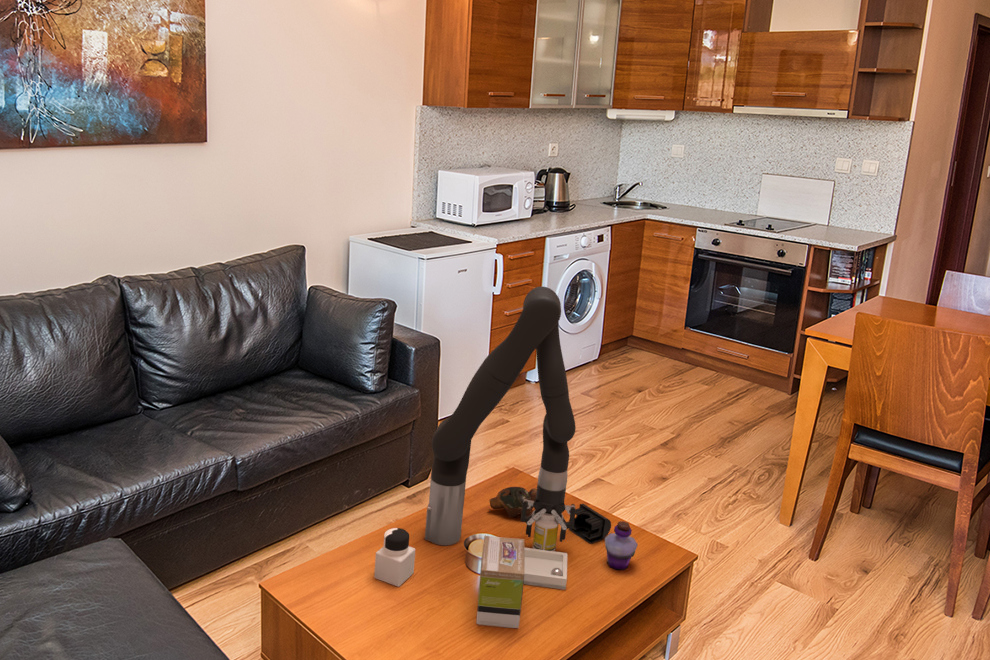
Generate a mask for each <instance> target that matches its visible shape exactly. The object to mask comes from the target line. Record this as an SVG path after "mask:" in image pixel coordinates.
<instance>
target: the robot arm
mask: <svg viewBox="0 0 990 660" xmlns="http://www.w3.org/2000/svg"><path fill="white" fill-rule="evenodd" d="M561 316H562V306H561V300H560V298H559V295H558V294H557V293H556V292H555V291H554V290H553V289H551V288H549V287H547V286H536V287H535V288H532V289H531V290H529V291H528V293H527V294H526V296H525V297H524V300H523V305H522V311H521V313H520V315H519V318H518V319H517V321H516V322H515V324H514V326H513V328H512V329H511V331H509V334H508V335H507V336H506V337H505V339H504V340H502V342H500V343H499V344H498V345H497V346H496V347H495V348H494V349H493V350H492V351H490V352H489V354H488V355H487V356H486V358H485V359H484V360H483V361H482V363H481V364H480V366H479V367H478V368H477V370H476V372H475V373H474V375H473V377H472V378H471V380H470V382H469V383H468V385H467V387H466V388H465V389H466V390H465V391H464V393H463V395H462V398H461V399H460V401H459V403H458V405H457V407H456V409H455V410H454V412H453V413H452V414H451V415H450V416H449V417H448V418H445V419H443V420H442V421H441V422H440V423H439V425H438V426H437V428H436V430H435V432H434V433H433V436H432V439H431V448H432V452H433V455H434V457H433V461H432V466H431V470H430V471H431V472H430V474H431V475H430V484H429V496H428V498H429V499H428V504H427V508H426V517H425V531H424V541H429V542H431V543H433V544H435V545H439V546H451V545H454V544H456V543H458V542H460V540H461V537H462V536H461V535H462V528H463V527H462V525H463V517H464V516H463V515H464V506H465V505H464V504H465V495H466V493H465V492H466V483H467V473H468V469H469V466H470V465H469V464H470V455H471V446H472V439H473V438H474V436H475V434H476V433H477V432H478V429H479V427H480V426H481V425H482V423H483V422H484V421H485V420H486V418H487V417H489V416H490V414H491V413H492V412H493V411H494V409H495V408H496V407H497V406H498V404H500V402H501V401H502V400H503V399H504V397H506V396H505V395H506V394H507V393H508V392H509V390H510V389H511V388H512V386H513V385H514V383H516V380H517V379H518V377H519V376H520V374H521V373H522V371H523V369H524V368H525V366H526V364H527V363H528V361H529V359H530V358H531V356H532V355H533V353H534V352H535V353H536V366H537V377H538V379H537V380H538V385H539V390H540V391H539V392H540V396H541V401H542V404H543V406H544V409H545V414H544V418H543V423H542V445H543V446H542V453H541V461H540V467H539V471H538V477H537V485H536V489H537V492H536V499H535V500H534V501H531V500H528V498H524V501H523V507H522V513H521V515H520V522H521V523H525V524H526V528H525V535H526V536H527V538H531V536H532V528H533V523H535V521H536V520H537V519H538V518H539V517H541V516H542V514H544V513H548V514H553V516H554V517H555V519H556V520H557V522H558V525H560V532H559V542H563V541H565V540H566V535H567V530H569V528H571V529H573V528H574V520H575V517H576V515H575V509H576V505H575V503H571V504H569V505H567V504H565V498H566V490H567V486H568V485H567V484H568V470H569V469H568V468H569V461H570V460H569V459H570V450H569V446H568V442H570V441H571V440H572V439H573V438H574V436H575V434H576V420H575V416H574V412H573V407H572V404H571V402H570V393H569V392H570V391H569V385H568V378H567V372H566V366H565V362H564V357H563V353H562V347H561V346H562V345H561V339H560V330H559V326H560V325H559V324H560V323H559V322H560V319H561ZM531 506H533V507H534V508H533V509H534V510H532V512H531V514H530V516H529V517H528V516H526V512H527V509H529V508H530V507H531ZM565 511H566V512H567V514H568V515H569V520H570V521H569V520H568V521H566V519H565V517H564V512H565Z"/></svg>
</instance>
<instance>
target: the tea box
mask: <svg viewBox="0 0 990 660" xmlns="http://www.w3.org/2000/svg"><path fill="white" fill-rule="evenodd" d="M483 539H484V540H483V547H482V555H481V564H480V571H479V572H480V573H479V574H480V575H479V584H478V596H477V607H476V608H477V611H476V622H475V623H476V624H477V625H478V626H479V625H480V626H488V627H489V626H490V627H496V628H497V627H499V628H508V629H509V628H510V629H519V628H520V627H519V626H520V620H521V619H520V618H521V611H522V603H523V602H522V601H523V592H524V585H525V584H524V548H525V539H524V538H514V537H513V538H512V537H505V536H504V537H501V536H491V535H490V536H489V535H484V538H483Z"/></svg>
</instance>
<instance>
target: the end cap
mask: <svg viewBox="0 0 990 660" xmlns="http://www.w3.org/2000/svg"><path fill="white" fill-rule="evenodd" d="M569 521H570V519H568V522H569ZM611 528H612V522H611V520H610V519H609V518H607V517H606V516H604V515H603V514H601V513H600V512H597V511H596V510H595V509H593V508H591V507H590V506H588V505H587V504H586V503H580V504H579V507H578V508H575V520H574V528H573V529H571V528H568V530H569V532H571V533H573V534H575V535H576V536H578V537H579V538H580V539H582V540H583V541H585V542H586V543H588V544H590V545H592V544H595V543H598V542H600V541H602V540H603V539H605V537H607V536H608V535H609V534H610V531H611Z"/></svg>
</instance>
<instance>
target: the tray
mask: <svg viewBox="0 0 990 660" xmlns="http://www.w3.org/2000/svg"><path fill="white" fill-rule="evenodd" d="M554 568H559V569H561V570H562V572H563V576H556V575H551V571H552V569H554ZM567 581H568V553H567V552H561V551H547V550H539V549H534V548H533V547H532V548H530V547H524V584H523V585H527V586H534V587H542V588H549V589H555V590H557V589H558V590H564V591H566V589H567Z"/></svg>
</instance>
